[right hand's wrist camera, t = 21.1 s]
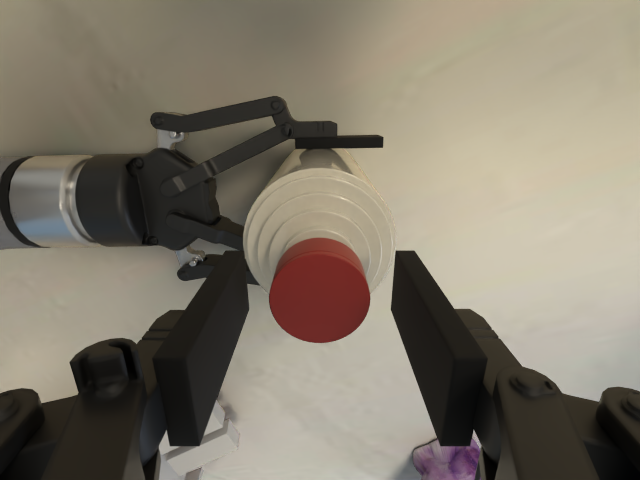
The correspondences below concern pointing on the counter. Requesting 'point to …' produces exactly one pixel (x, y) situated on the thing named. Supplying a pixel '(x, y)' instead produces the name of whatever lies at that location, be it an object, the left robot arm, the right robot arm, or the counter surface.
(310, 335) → the cap
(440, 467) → the figurine
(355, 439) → the counter surface
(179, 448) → the toy
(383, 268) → the bottle
